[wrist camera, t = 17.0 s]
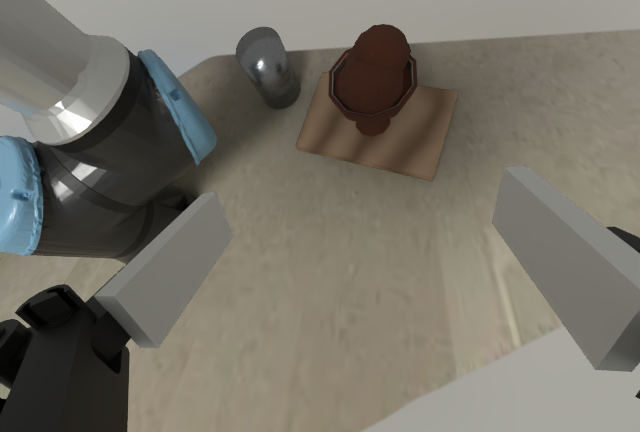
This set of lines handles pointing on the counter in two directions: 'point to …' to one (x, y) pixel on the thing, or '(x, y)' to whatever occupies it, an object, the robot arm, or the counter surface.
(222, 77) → the counter surface
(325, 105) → the walnut board
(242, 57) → the metal tin
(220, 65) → the counter surface
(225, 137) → the counter surface
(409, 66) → the ice cream bowl
